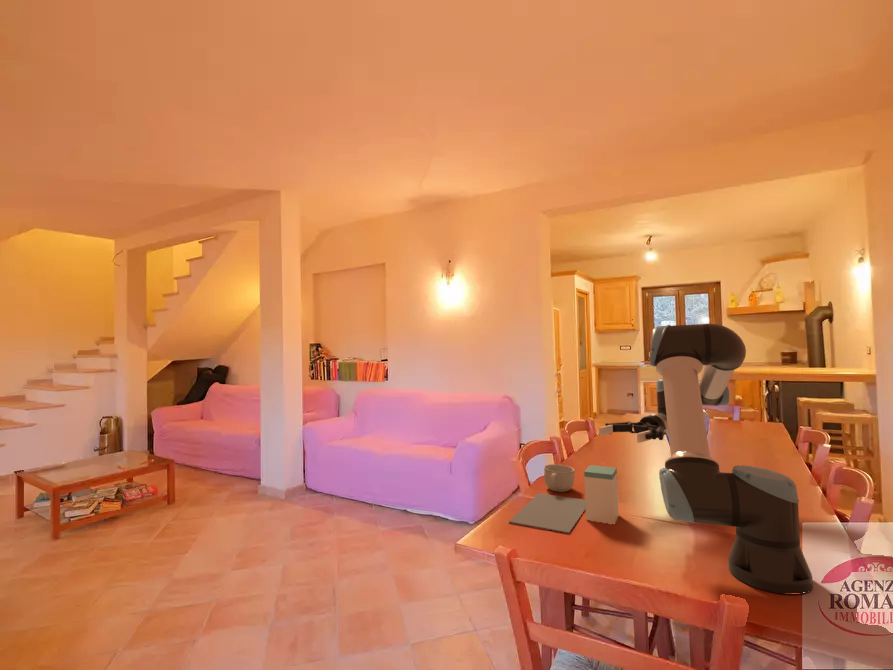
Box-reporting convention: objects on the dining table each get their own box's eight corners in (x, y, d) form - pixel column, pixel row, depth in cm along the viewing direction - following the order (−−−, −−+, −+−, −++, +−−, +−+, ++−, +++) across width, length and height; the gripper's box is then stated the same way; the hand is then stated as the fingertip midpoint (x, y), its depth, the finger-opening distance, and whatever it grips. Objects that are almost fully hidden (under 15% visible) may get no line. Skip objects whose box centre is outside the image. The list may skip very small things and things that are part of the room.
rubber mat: (569, 534, 123) (569, 532, 123) (508, 523, 132) (508, 521, 132) (590, 501, 148) (590, 500, 148) (538, 494, 156) (538, 493, 156)
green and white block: (614, 524, 129) (612, 474, 129) (586, 520, 133) (584, 471, 133) (618, 515, 136) (616, 467, 136) (591, 511, 140) (589, 465, 140)
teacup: (552, 483, 169) (552, 462, 169) (580, 488, 162) (579, 466, 162) (535, 493, 158) (534, 470, 158) (563, 499, 151) (562, 475, 151)
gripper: (692, 442, 143) (656, 453, 130) (622, 431, 163) (586, 440, 151) (691, 419, 143) (655, 428, 130) (621, 411, 163) (585, 418, 151)
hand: (618, 434), depth 141 cm, fingers open, 13 cm apart
